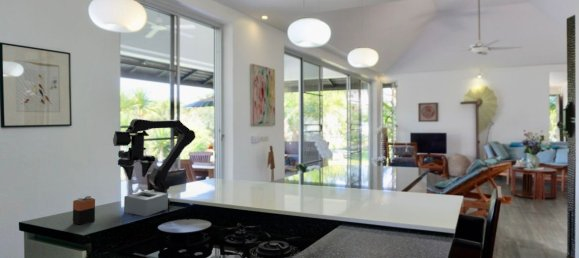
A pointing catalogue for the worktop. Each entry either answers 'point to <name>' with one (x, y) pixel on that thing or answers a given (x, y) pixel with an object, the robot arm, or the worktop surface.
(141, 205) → the coin box
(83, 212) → the battery
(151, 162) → the robot arm
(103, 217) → the worktop surface
